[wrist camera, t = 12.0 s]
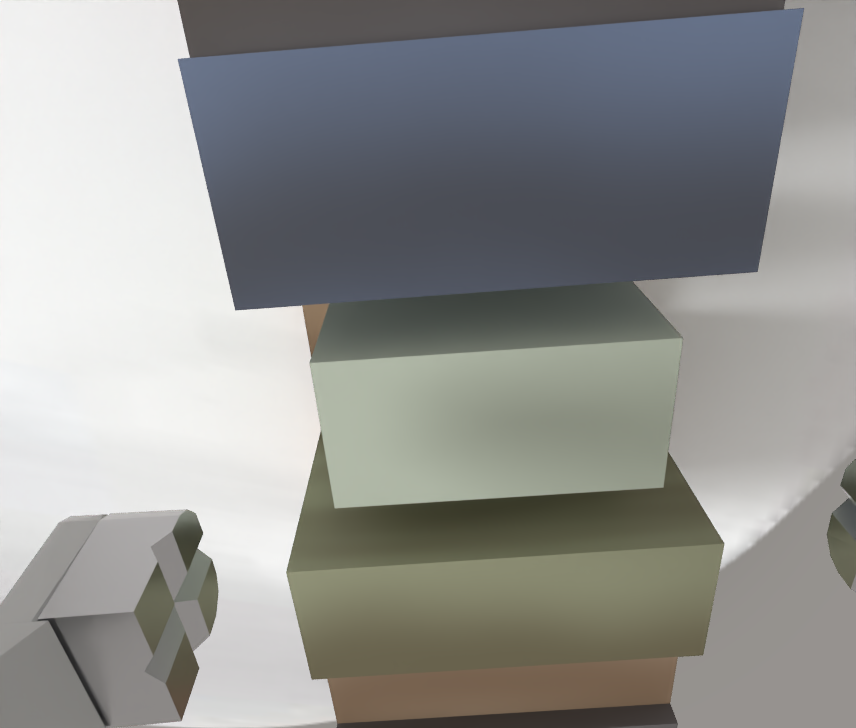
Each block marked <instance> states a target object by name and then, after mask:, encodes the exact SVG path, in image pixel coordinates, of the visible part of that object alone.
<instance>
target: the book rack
mask: <svg viewBox="0 0 856 728" xmlns="http://www.w3.org/2000/svg"><path fill="white" fill-rule="evenodd" d="M177 1H178V5H179V10H180V14H181V19H182V23H183V28H184V32H185V37H186V41H187V46H188V50H189V55H190V58H184V59H178V62H179V67H180V71H181V75H182V80H183V84H184V88H185V93H186V97H187V101H188V106H189V110H190V115H191V119H192V123H193V128H194V132H195V136H196V141H197V145H198V149H199V154H200V158H201V162H202V167H203V171H204V176H205V180H206V184H207V189H208V193H209V197H210V202H211V206H212V210H213V215H214V219H215V223H216V228H217V232H218V236H219V241H220V245H221V250H222V254H223V258H224V263H225V267H226V271H227V276H228V280H229V284H230V289H231V293H232V297H233V302H234V306H235V310H246V309H260V308H274V307H287V306H301V305H302V307H303V312H304V318H305V324H306V329H307V335H308V341H309V346H310V352H311V357H312V354H313V351H314V348H315V345H316V342H317V339H318V336H319V333H320V330H321V327H322V324H323V321H324V318H325V315H326V312H327V309H328V306H329V303H342V302H355V301H369V300H382V299H396V298H410V297H423V296H437V295H450V294H464V293H478V292H491V291H505V290H518V289H532V288H546V287H559V286H573V285H586V284H600V283H614V282H627V281H641V280H654V279H668V278H682V277H695V276H709V275H722V274H736V273H750V272H758V266H759V260H760V255H761V249H762V243H763V238H764V232H765V226H766V221H767V215H768V209H769V204H770V198H771V192H772V187H773V181H774V175H775V170H776V164H777V158H778V153H779V147H780V141H781V136H782V130H783V124H784V119H785V113H786V107H787V102H788V96H789V90H790V85H791V79H792V73H793V68H794V62H795V56H796V51H797V45H798V39H799V34H800V28H801V22H802V17H803V11H804V8H799V9H787V10H784V4H785V0H177ZM723 548H724V542H723V541H722V539H721V537H720V536H719V534H718V533H717V531H716V529H715V528H714V526H713V524H712V523H711V521H710V519H709V518H708V516H707V514H706V513H705V511H704V510H703V508H702V506H701V505H700V503H699V501H698V500H697V498H696V496H695V495H694V493H693V492H692V490H691V488H690V487H689V485H688V483H687V482H686V480H685V478H684V477H683V475H682V474H681V472H680V470H679V469H678V467H677V465H676V464H675V462H674V460H673V459H672V457H671V456H670V454H669V452H668V457H667V464H666V472H665V479H664V487H663V488H648V489H632V490H617V491H601V492H585V493H569V494H554V495H538V496H522V497H506V498H490V499H475V500H459V501H443V502H427V503H411V504H396V505H380V506H364V507H348V508H335V507H334V501H333V496H332V490H331V484H330V478H329V473H328V467H327V461H326V455H325V449H324V444H323V438H322V432H321V433H320V437H319V441H318V445H317V449H316V453H315V457H314V461H313V465H312V469H311V474H310V478H309V482H308V486H307V490H306V494H305V498H304V502H303V506H302V510H301V514H300V518H299V523H298V527H297V531H296V535H295V539H294V543H293V547H292V551H291V555H290V559H289V563H288V567H287V572H286V573H287V578H288V582H289V586H290V590H291V594H292V599H293V603H294V607H295V611H296V615H297V620H298V624H299V628H300V632H301V636H302V640H303V645H304V649H305V653H306V657H307V661H308V666H309V670H310V674H311V678H312V680H313V679H328V683H329V688H330V692H331V697H332V701H333V706H334V710H335V715H336V719H337V728H677V725H678V723H677V720H676V718H675V715H674V712H673V710H672V707H671V705H670V701H671V695H672V688H673V682H674V676H675V669H676V664H677V658H678V657H683V656H699V655H703V653H704V648H705V643H706V637H707V632H708V627H709V622H710V616H711V611H712V606H713V601H714V595H715V590H716V585H717V579H718V575H719V569H720V564H721V559H722V554H723Z"/></svg>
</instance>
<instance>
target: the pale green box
mask: <svg viewBox="0 0 856 728" xmlns="http://www.w3.org/2000/svg"><path fill="white" fill-rule="evenodd" d="M682 342H683V337H682V336H681V335H680V334H679V333H678V332H677V331H676V330H675V328H674V327H673V326H672V325H671V324H670V323H669V322H668V321H667V319H666V318H665V317H664V316H663V315H662V314H661V313H660V312H659V311H658V309H657V308H656V307H655V306H654V305H653V304H652V303H651V302H650V300H649V299H648V298H647V297H646V296H645V295H644V294H643V293H642V291H641V290H640V289H639V288H638V287H637V286H636V285H635V284H634V283H633V281H627V282H614V283H600V284H586V285H573V286H559V287H546V288H532V289H518V290H505V291H491V292H478V293H464V294H450V295H437V296H423V297H410V298H396V299H382V300H369V301H355V302H342V303H329V306H328V309H327V312H326V315H325V318H324V321H323V324H322V327H321V330H320V333H319V336H318V339H317V342H316V345H315V348H314V351H313V354H312V357H311V360H310V368H311V374H312V380H313V386H314V392H315V397H316V403H317V409H318V415H319V421H320V426H321V432H322V438H323V444H324V449H325V455H326V461H327V467H328V473H329V478H330V484H331V490H332V496H333V501H334V507H335V508H348V507H364V506H380V505H396V504H411V503H427V502H443V501H459V500H475V499H490V498H506V497H522V496H538V495H554V494H569V493H585V492H601V491H617V490H632V489H648V488H663V487H664V479H665V472H666V464H667V457H668V449H669V441H670V434H671V426H672V419H673V411H674V403H675V396H676V388H677V381H678V373H679V365H680V358H681V350H682Z"/></svg>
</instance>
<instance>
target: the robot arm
mask: <svg viewBox="0 0 856 728" xmlns="http://www.w3.org/2000/svg"><path fill="white" fill-rule="evenodd" d="M841 487H842V489H843V490H844V492H845V493H846V495H847V496H848V499H847V500H846V501H845V502H844V503H843V504H842V505H841V506H840V507H838V508H837V509H836V510H835V511H834V512H833V513H832V515H831V519H830V524H829V528H828V532H827V538H828V544H829V549H830V556H831V558H832V560H833V562H834V564H835V567H836V569H837V571H838V573H839V574H840V575H841V577H842V578H843V579H844V581H845V582H846V583H847V585H848V586H849V587H850V589H851V590H853V591H855V592H856V459H855V460H854V461H853V462H852V463H851V464H850V465H849V466H848V467H847V468H846V470H845V473H844V476H843V479H842V482H841ZM202 535H203V531H202V529H201V526H200V524H199V521H198V518H197V516H196V513H194V512H192V511H190V510H187V509H186V510H167V511H148V512H129V513H110V514H109V515H86V516H71V517H69V518H67V519H65V520H63V521H61V522H59V523H58V525H57V526H56V527H55V529H54V530H53V531H52V533H51V534H50V536H49V537H48V538H47V540H46V541H45V543H44V544H43V545H42V547H41V548H40V550H39V551H38V553H37V554H36V555H35V557H34V558H33V560H32V561H31V562H30V564H29V565H28V567H27V568H26V569H25V571H24V572H23V574H22V575H21V576H20V578H19V579H18V581H17V582H16V583H15V585H14V586H13V588H12V589H11V590H10V592H9V593H8V595H7V596H6V597H5V599H4V600H3V602H2V603H1V604H0V728H117V727H126V726H137V725H147V724H157V723H167V722H177V721H182V718H183V715H184V712H185V709H186V706H187V703H188V700H189V697H190V694H191V691H192V688H193V685H194V682H195V679H196V676H197V673H198V670H199V666H198V664H197V661H196V658H195V656H194V653H193V651H194V650H195V649H196V648H197V647H198V646H199V645H200V644H201V643H203V642H204V641H205V640H206V639H207V638H208V637H209V636H210V633H211V630H212V627H213V624H214V620H215V617H216V611H217V601H218V583H217V575H216V571H215V568H214V565H213V561H212V559H211V558H209V557H208V556H207V555H205V554H204V553H203V552H201V551H200V550H199V549H197V548H198V545H199V543H200V540H201V537H202Z"/></svg>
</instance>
